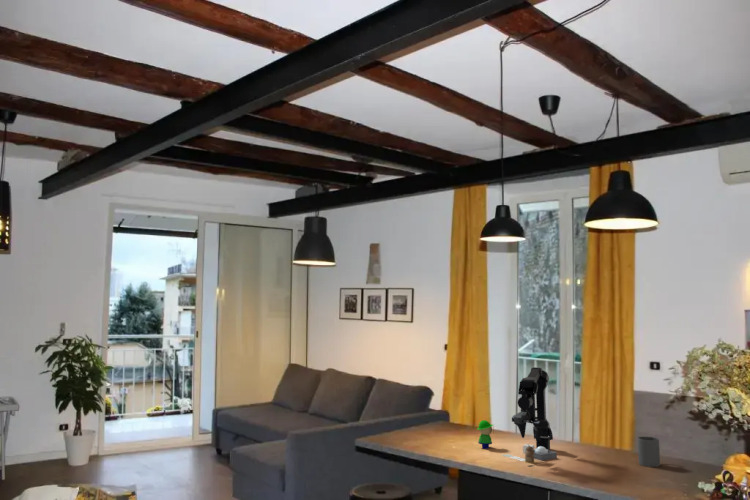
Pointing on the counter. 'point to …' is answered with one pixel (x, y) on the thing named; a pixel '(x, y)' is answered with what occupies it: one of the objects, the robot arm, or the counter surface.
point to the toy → (485, 434)
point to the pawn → (529, 454)
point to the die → (526, 447)
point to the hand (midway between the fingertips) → (530, 439)
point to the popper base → (545, 455)
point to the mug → (648, 451)
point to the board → (517, 458)
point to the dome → (541, 450)
